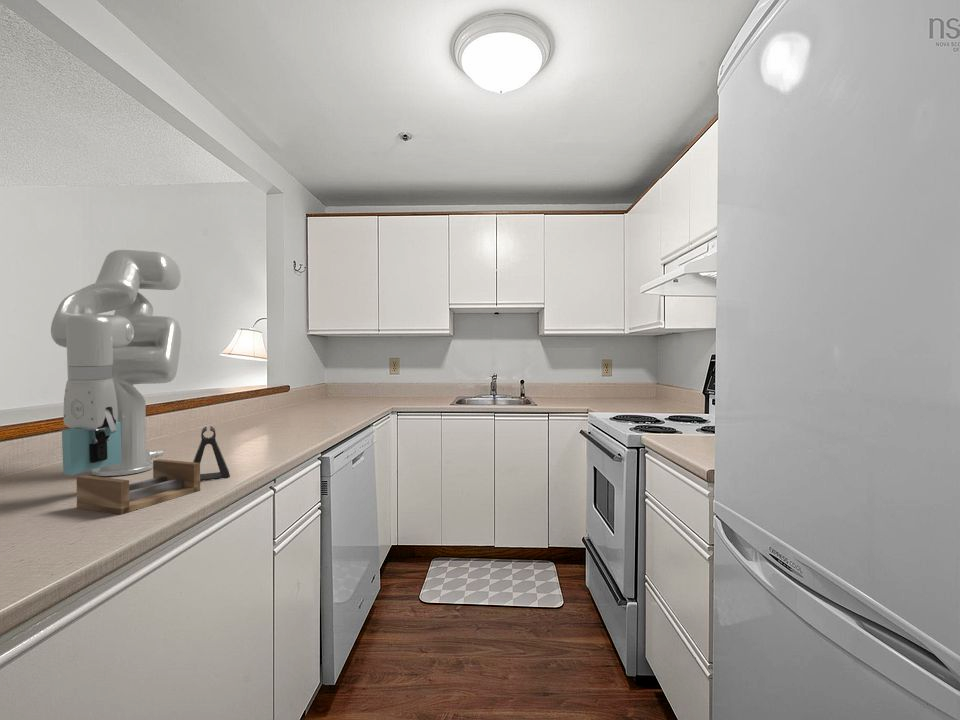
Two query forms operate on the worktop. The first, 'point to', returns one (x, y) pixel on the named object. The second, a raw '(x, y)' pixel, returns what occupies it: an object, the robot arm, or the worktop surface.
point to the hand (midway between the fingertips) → (93, 459)
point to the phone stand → (219, 458)
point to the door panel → (87, 450)
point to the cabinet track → (138, 488)
